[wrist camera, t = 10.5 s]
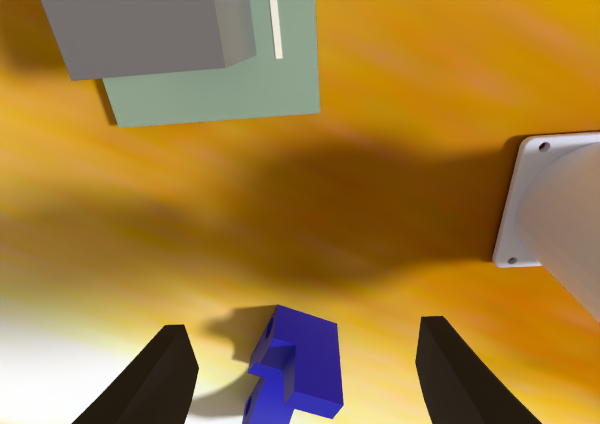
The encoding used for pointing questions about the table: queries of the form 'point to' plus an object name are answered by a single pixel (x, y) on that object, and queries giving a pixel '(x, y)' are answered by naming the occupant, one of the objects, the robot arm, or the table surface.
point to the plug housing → (149, 35)
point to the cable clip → (295, 369)
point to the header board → (234, 77)
